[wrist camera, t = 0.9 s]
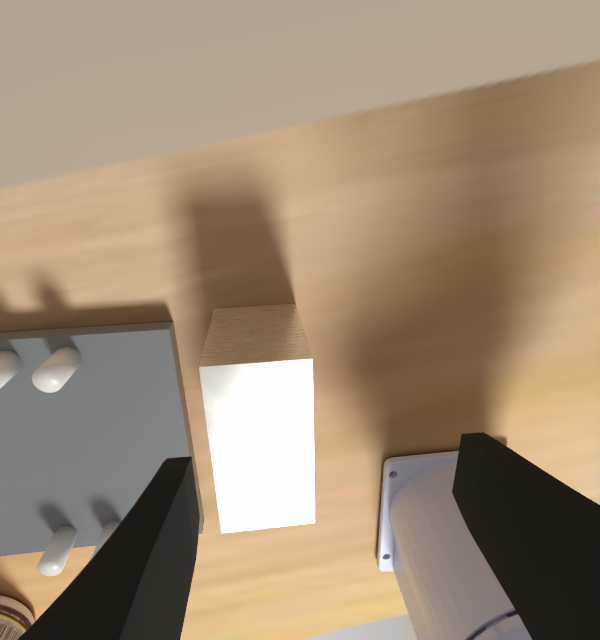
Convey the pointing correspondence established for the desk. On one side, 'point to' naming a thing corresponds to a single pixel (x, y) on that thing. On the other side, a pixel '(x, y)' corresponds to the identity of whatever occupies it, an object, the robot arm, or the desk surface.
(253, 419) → the block
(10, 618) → the supplement bottle
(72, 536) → the pin tray
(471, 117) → the desk surface
